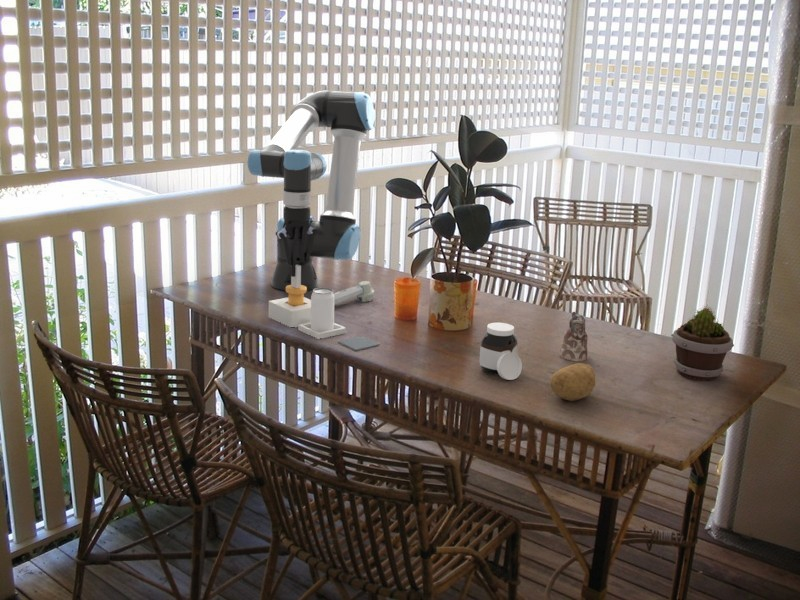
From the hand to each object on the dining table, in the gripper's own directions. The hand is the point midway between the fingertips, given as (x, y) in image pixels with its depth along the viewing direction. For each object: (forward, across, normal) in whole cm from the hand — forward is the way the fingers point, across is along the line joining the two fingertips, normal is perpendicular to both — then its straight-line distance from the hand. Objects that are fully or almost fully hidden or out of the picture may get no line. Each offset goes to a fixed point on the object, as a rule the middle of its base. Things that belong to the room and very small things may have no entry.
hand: (295, 286), depth 254 cm
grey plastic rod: (+10, +20, +4) cm, 23 cm away
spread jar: (+11, +19, -64) cm, 67 cm away
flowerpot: (+10, +61, -94) cm, 113 cm away
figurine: (+10, +44, -67) cm, 81 cm away
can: (+10, 0, -13) cm, 16 cm away
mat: (+10, +2, -27) cm, 29 cm away
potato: (+11, +21, -85) cm, 88 cm away
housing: (+10, 0, -6) cm, 12 cm away
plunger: (+8, 0, 0) cm, 8 cm away
